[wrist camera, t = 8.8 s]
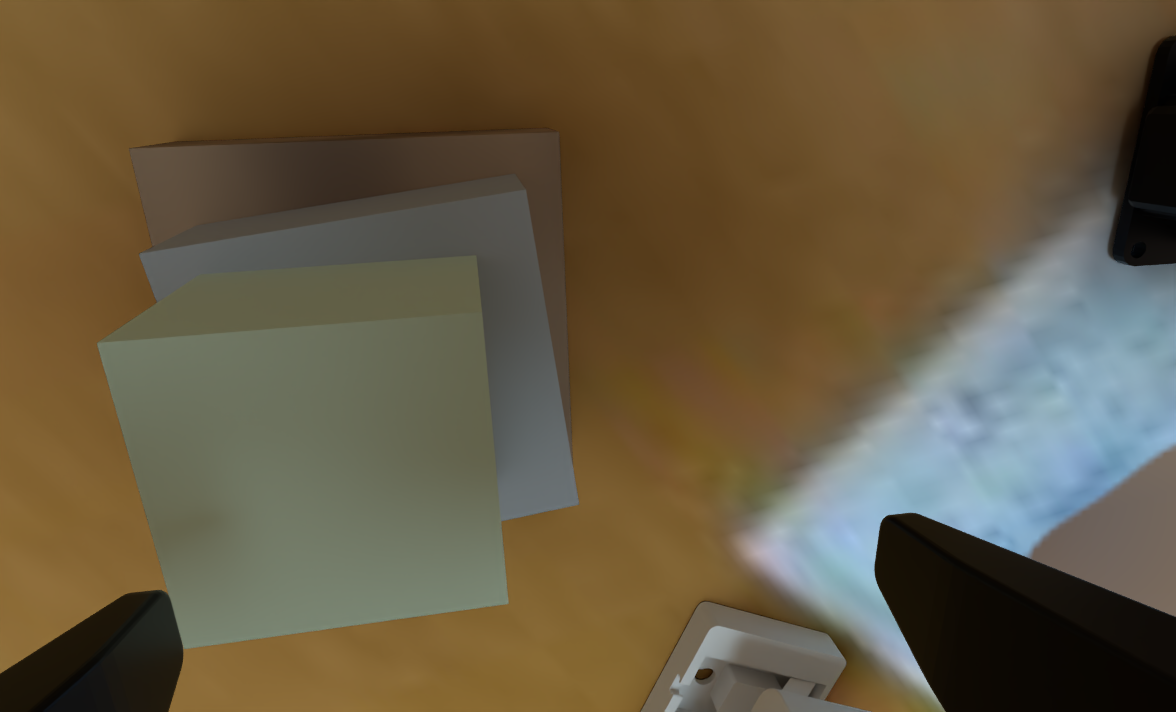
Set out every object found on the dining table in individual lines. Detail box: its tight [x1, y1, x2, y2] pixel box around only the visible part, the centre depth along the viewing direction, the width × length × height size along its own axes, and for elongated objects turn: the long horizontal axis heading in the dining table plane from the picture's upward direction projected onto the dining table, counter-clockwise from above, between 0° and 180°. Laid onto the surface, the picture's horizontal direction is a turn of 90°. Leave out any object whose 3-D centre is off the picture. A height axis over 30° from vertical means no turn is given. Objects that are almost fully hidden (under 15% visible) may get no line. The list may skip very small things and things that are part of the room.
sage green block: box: [97, 255, 508, 649], centre depth 12 cm, size 5×5×4 cm
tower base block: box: [129, 128, 573, 465], centre depth 18 cm, size 9×9×3 cm
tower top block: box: [139, 174, 579, 521], centre depth 16 cm, size 7×7×3 cm
